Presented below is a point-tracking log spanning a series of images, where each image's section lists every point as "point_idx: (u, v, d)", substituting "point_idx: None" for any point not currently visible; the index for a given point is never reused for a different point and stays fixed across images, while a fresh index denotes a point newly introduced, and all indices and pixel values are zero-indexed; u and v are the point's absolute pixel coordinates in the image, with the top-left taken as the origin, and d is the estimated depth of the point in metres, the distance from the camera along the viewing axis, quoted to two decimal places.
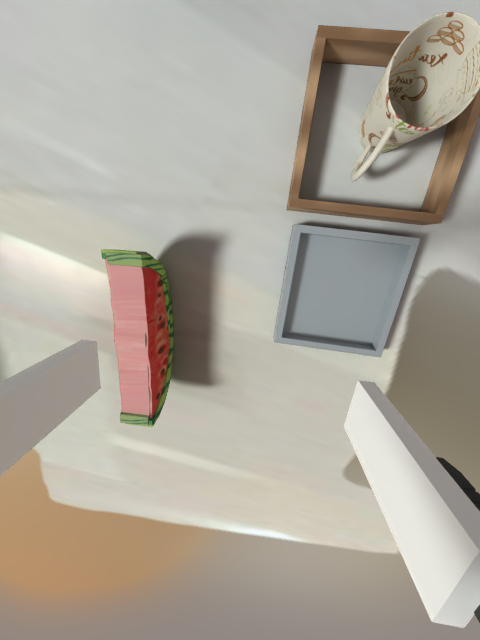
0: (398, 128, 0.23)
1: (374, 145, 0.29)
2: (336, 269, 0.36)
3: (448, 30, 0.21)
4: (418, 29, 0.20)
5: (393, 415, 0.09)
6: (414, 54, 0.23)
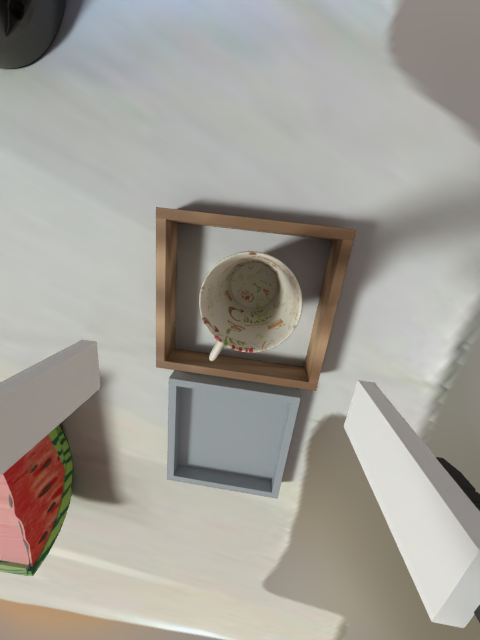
0: None
1: None
2: (225, 412, 0.34)
3: (262, 257, 0.19)
4: (224, 262, 0.18)
5: (393, 415, 0.09)
6: (245, 259, 0.21)
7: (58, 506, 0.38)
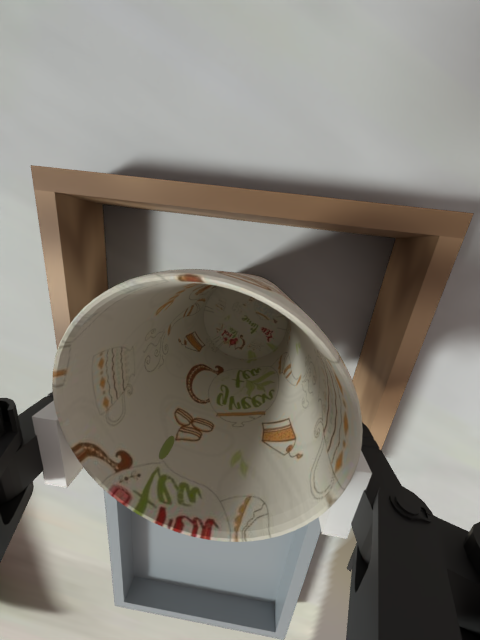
0: None
1: None
2: None
3: None
4: (110, 303, 0.06)
5: None
6: None
7: None
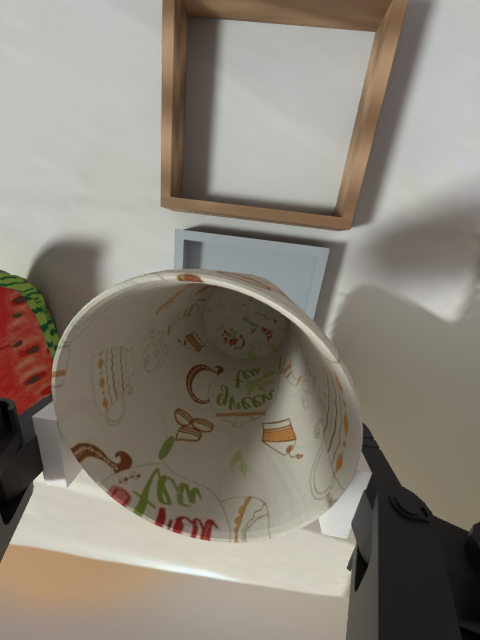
0: None
1: None
2: None
3: None
4: (109, 303, 0.06)
5: None
6: None
7: None
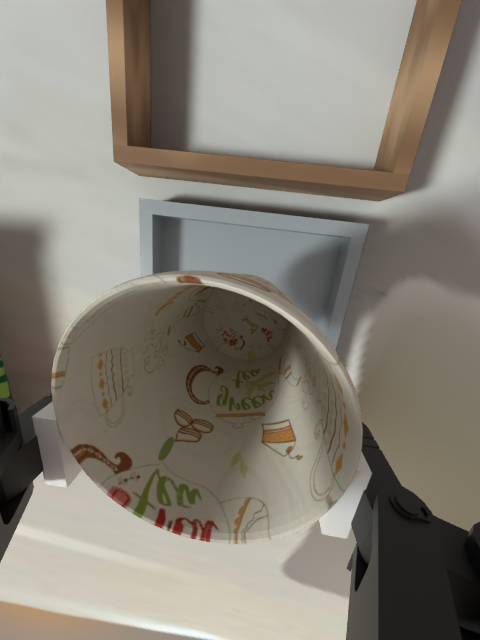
0: None
1: None
2: None
3: None
4: (109, 304, 0.06)
5: None
6: None
7: None
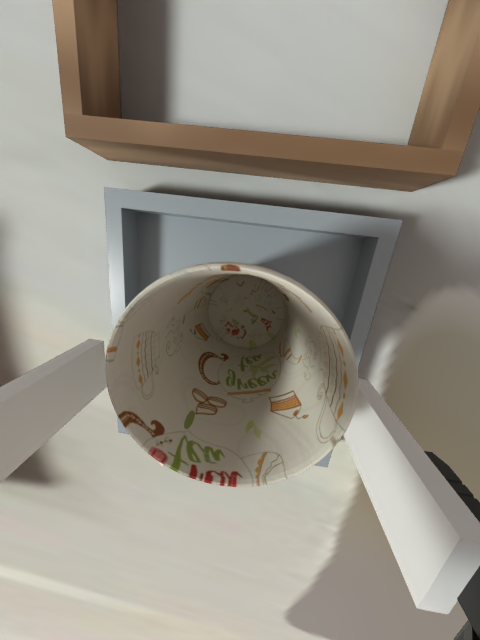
0: None
1: None
2: None
3: (257, 276, 0.08)
4: (160, 289, 0.07)
5: (384, 411, 0.09)
6: (222, 275, 0.10)
7: None
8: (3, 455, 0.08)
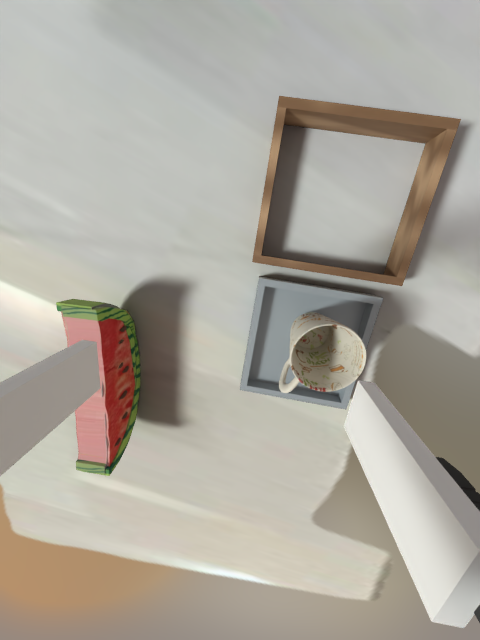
0: None
1: None
2: None
3: None
4: (312, 329, 0.26)
5: (393, 415, 0.09)
6: None
7: (128, 418, 0.40)
8: None
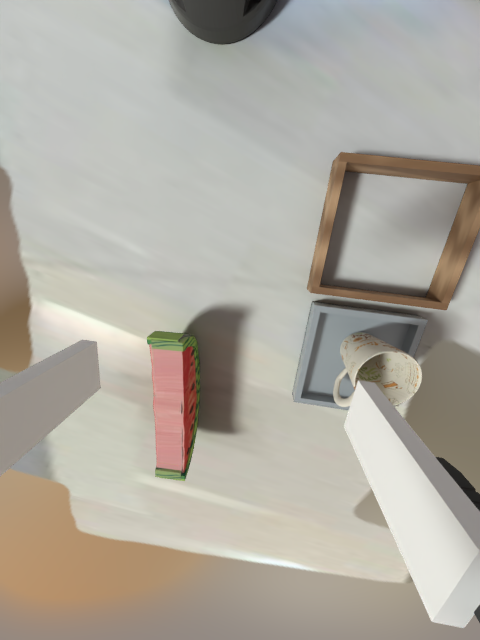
0: None
1: None
2: None
3: None
4: (374, 355, 0.30)
5: (393, 415, 0.09)
6: None
7: (193, 429, 0.44)
8: None
